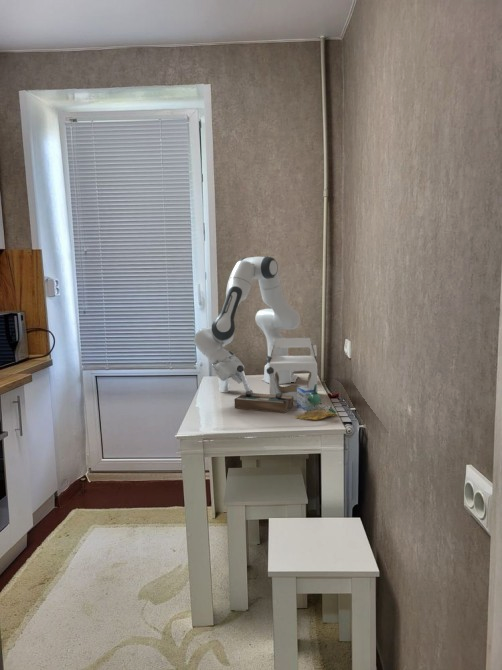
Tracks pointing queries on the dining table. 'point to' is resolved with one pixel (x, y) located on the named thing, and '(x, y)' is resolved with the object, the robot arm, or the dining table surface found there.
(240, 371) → the lever
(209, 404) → the dining table surface
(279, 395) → the lever
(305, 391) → the medicine box
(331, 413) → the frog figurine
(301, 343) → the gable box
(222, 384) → the cup with straw
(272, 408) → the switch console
